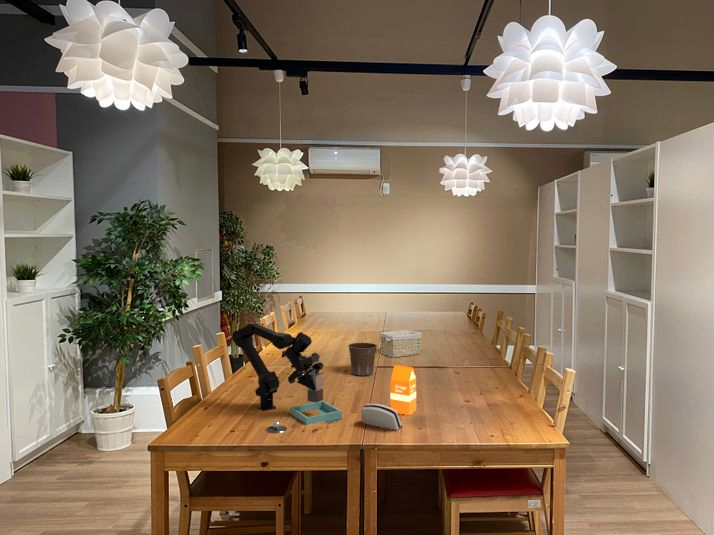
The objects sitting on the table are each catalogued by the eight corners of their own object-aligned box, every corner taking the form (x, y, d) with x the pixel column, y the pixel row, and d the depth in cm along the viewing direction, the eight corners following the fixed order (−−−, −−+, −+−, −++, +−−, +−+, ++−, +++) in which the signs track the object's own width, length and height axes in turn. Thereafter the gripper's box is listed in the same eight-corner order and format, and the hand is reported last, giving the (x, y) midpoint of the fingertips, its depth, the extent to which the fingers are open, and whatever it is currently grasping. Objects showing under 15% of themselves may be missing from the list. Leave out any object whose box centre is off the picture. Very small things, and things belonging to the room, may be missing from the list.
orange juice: (409, 416, 209) (409, 369, 208) (390, 412, 213) (390, 366, 212) (416, 410, 216) (416, 365, 215) (397, 407, 220) (397, 362, 219)
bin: (290, 416, 209) (289, 407, 208) (323, 409, 217) (323, 400, 217) (306, 428, 195) (306, 418, 195) (341, 420, 204) (341, 411, 203)
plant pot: (378, 370, 284) (378, 342, 283) (376, 378, 268) (376, 348, 267) (350, 369, 286) (349, 342, 285) (346, 377, 270) (346, 348, 269)
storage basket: (408, 350, 337) (408, 328, 337) (423, 354, 324) (423, 332, 323) (378, 354, 325) (378, 332, 325) (392, 359, 311) (392, 336, 311)
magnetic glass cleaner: (403, 426, 196) (399, 405, 193) (398, 434, 193) (394, 413, 189) (367, 418, 205) (363, 398, 202) (362, 426, 202) (357, 405, 198)
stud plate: (262, 431, 192) (262, 419, 191) (282, 427, 196) (281, 415, 196) (270, 438, 185) (270, 426, 185) (290, 434, 189) (290, 421, 189)
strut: (307, 400, 205) (307, 374, 204) (314, 397, 209) (314, 372, 208) (316, 402, 203) (316, 376, 202) (323, 399, 207) (322, 373, 206)
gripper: (293, 351, 199) (315, 382, 194) (320, 343, 215) (341, 372, 210) (278, 368, 203) (299, 399, 198) (305, 359, 219) (326, 387, 214)
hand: (317, 388), depth 205 cm, fingers closed on strut, 4 cm apart
